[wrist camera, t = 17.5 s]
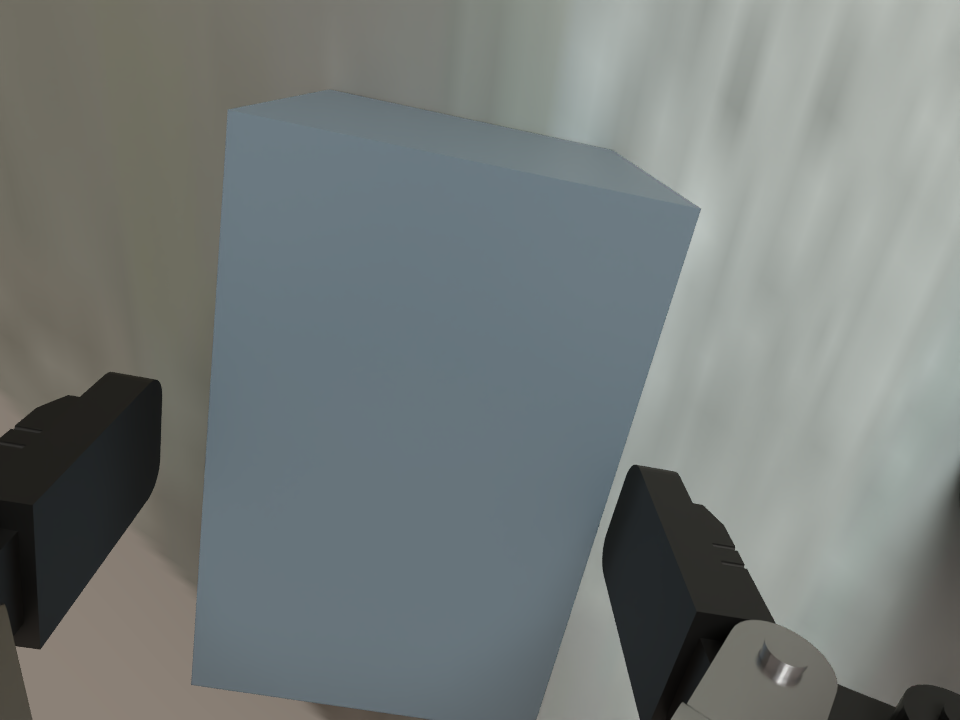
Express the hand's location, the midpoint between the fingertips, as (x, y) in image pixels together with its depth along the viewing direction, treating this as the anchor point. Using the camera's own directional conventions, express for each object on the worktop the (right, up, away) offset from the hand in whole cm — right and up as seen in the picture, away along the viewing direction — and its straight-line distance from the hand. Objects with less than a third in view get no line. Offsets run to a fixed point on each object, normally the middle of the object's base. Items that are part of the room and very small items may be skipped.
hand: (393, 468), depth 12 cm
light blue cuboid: (0, +3, +7) cm, 7 cm away
